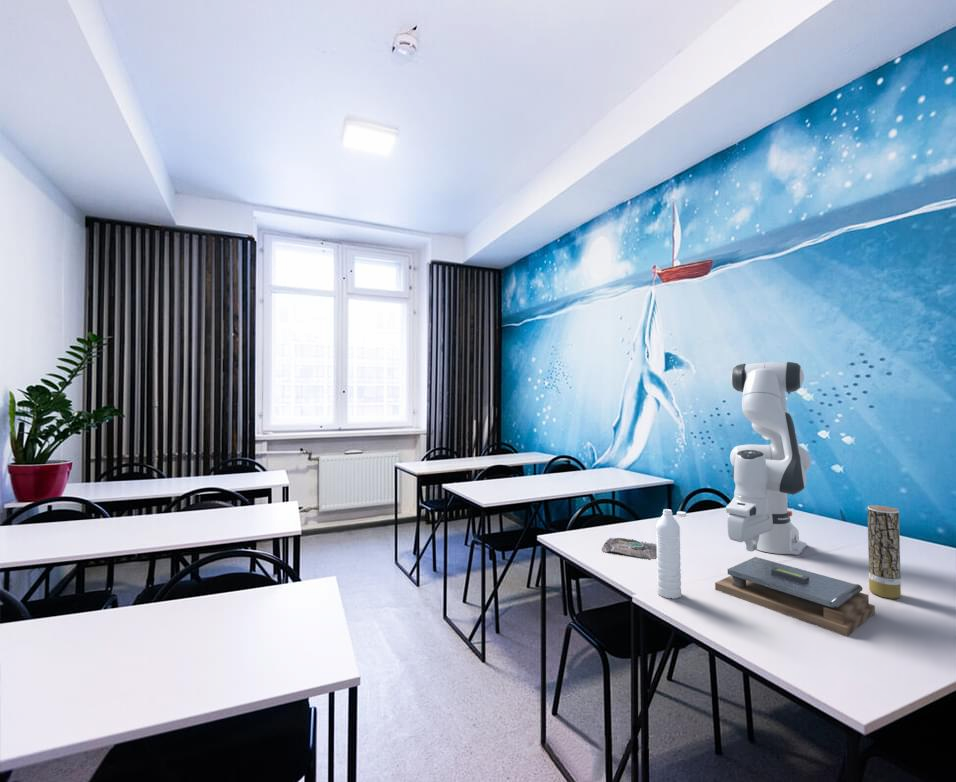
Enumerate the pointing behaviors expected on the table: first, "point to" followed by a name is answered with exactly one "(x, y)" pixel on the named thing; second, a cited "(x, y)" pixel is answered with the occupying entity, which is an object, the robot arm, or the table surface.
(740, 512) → the robot arm
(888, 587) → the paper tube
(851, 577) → the table surface
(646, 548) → the terrain model
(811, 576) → the plate
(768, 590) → the leveling base
